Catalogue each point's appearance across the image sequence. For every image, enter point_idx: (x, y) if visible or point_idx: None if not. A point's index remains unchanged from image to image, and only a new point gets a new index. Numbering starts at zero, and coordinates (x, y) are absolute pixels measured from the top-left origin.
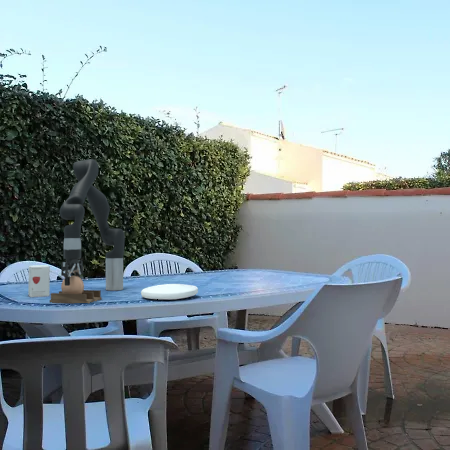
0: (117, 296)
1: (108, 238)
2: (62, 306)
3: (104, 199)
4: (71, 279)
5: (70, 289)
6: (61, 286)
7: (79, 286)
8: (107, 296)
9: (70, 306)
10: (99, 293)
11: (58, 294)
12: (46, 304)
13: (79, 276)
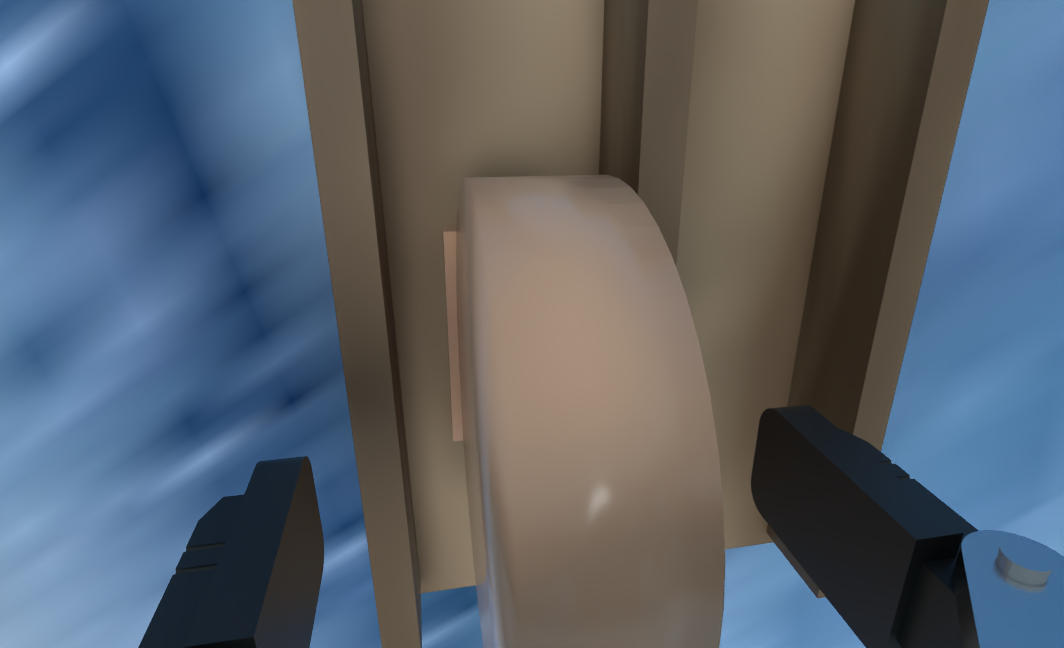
0: (1015, 530)
1: None
2: (58, 431)
3: None
4: (499, 595)
5: (471, 405)
6: (469, 191)
7: (482, 629)
8: (1030, 433)
9: (116, 525)
10: (794, 566)
11: (321, 177)
12: (108, 30)
13: (869, 634)
